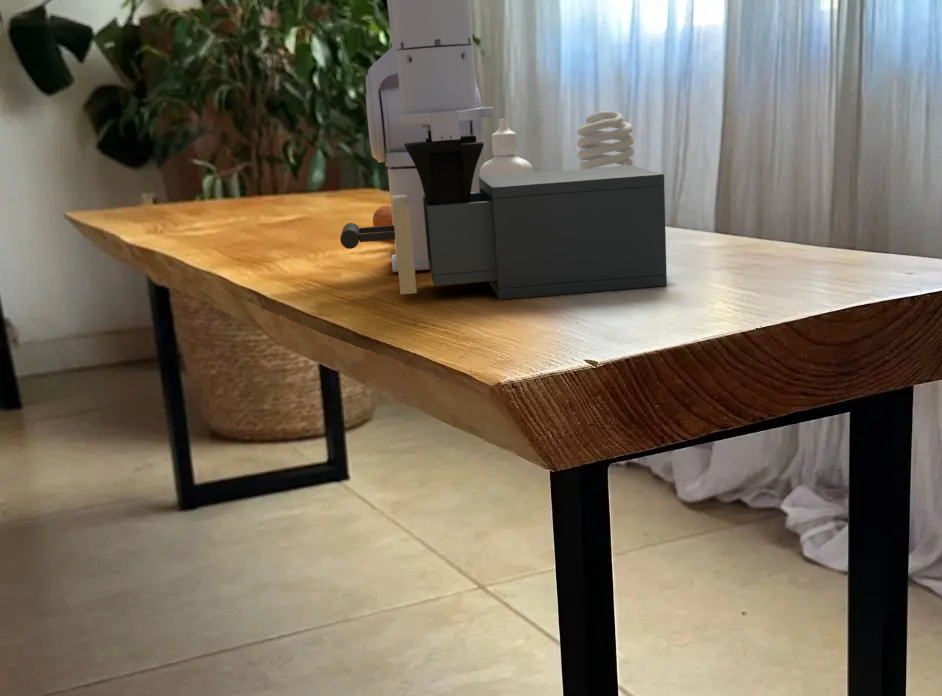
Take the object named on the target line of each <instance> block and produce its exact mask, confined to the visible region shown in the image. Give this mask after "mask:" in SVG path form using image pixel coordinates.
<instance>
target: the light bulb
mask: <svg viewBox="0 0 942 696" xmlns="http://www.w3.org/2000/svg"><path fill="white" fill-rule="evenodd" d="M624 120H625V119H624V116H623V115H622V114H621V113H619V112H617V111H612V110H604V111H603V110H601V111H597V112H594V113H592V114H589V115H587V116H586V119H585V124H584V125H581V126H579V128H578V129H577V131H576V132H577V133H576V134H577V135H578V136H580V137H581V138H579V139H578V140H576V141H577V142H576V146H577V147H578V148H579V149H581V150H579V151H578V152H577V158H578V159H580V160H582V161H583V162H581V163H580V165H579V169H588V168H600V167H605V166H607V165H608V166H609V165H612V164H617V165H621V166H627V165H631V166H633V160H632V159H631V158H632V156H633V155H634V154H635V149H634V148H633V147H632V145H633V144H634V143H635V139H634V136H632V135H631V133H632V132H633V129H634V127H633V125H632V124H631V123H629V122H627V121H624ZM608 128H614V129H613V130H604V129H608ZM610 140H611V141H612V140H613V141H615V140H616V141H615V142H606V141H610ZM612 152H616V153H617V154H607V153H612Z"/></svg>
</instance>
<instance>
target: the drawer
mask: <svg viewBox="0 0 942 696" xmlns="http://www.w3.org/2000/svg"><path fill="white" fill-rule="evenodd" d="M391 198H392V209H393V219H394V225H388V226H375V227H374V226H365V227H360V226H359V225H358V224H356V223H354V222H348V223H346V224H344V226H343V227H342V230H341V234H340V239H339V240H340V244H341V246H343V248H346V249H347V250H348V249H349V250H352V249H355V248H356V247H357V246H358V245H359V243H371V242H382V241H383V242H384V241H394V240H396V251H397V262H398V272H397V273H398V281H399V292H400V293H399V294H400V295H410V294H412V295H413V294H417V293H418V291H417V290H418V289H417V279H416V278H417V277H416V271H415V267H414V256H413V245H412V234H411V222H410V211H409V204H408V200H407V196H406V195H392V196H391ZM423 207H424V218H425V230H426V241H427V253H428V265H429V273H430V277H431V281H432V284H433V287H440V286H451V285H464V284H474V283H475V284H476V283H477V284H478V283H489V282H490V281H497V272H496V257H495V243H494V228H493V214H492V198H491V197H490V196H489V195H488V194H487V193H486V192H480V191H476V192H475V191H474V192H471V195H470V202H469V203H456V204H443V205H430V206H427V203H426V199H425V196H423Z"/></svg>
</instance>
